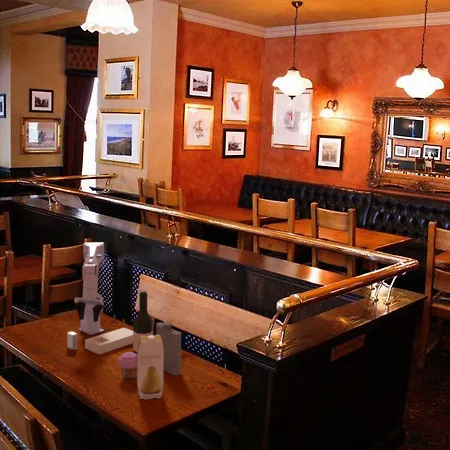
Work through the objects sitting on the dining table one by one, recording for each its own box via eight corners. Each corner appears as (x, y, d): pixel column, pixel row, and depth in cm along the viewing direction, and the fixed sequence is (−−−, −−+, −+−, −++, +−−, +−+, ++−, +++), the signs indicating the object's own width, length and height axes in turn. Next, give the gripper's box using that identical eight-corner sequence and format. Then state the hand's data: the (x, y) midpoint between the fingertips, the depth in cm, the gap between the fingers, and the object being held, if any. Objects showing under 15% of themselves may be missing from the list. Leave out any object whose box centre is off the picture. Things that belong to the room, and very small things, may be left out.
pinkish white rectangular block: (67, 347, 268) (67, 332, 266) (72, 346, 270) (71, 331, 268) (72, 350, 265) (72, 335, 264) (77, 348, 267) (77, 333, 266)
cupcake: (118, 382, 236) (118, 358, 234) (117, 372, 244) (117, 349, 242) (141, 380, 238) (141, 357, 236) (139, 371, 246) (139, 348, 244)
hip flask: (181, 374, 245) (182, 327, 241) (173, 376, 242) (174, 329, 239) (160, 361, 257) (161, 316, 253) (152, 363, 254) (153, 318, 251)
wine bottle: (129, 359, 257) (129, 291, 252) (140, 352, 265) (141, 287, 259) (145, 363, 254) (145, 295, 248) (156, 356, 261) (157, 290, 255)
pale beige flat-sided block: (85, 348, 268) (85, 339, 267) (124, 335, 284) (124, 327, 283) (99, 354, 261) (99, 345, 261) (138, 341, 278) (138, 333, 277)
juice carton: (138, 401, 221) (138, 339, 216) (136, 391, 228) (136, 331, 224) (163, 399, 223) (164, 338, 218) (161, 389, 230) (161, 330, 226)
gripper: (81, 286, 261) (80, 317, 257) (108, 291, 272) (107, 320, 267) (71, 289, 266) (70, 319, 261) (98, 293, 276) (97, 323, 272)
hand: (88, 320), depth 264 cm, fingers open, 7 cm apart
